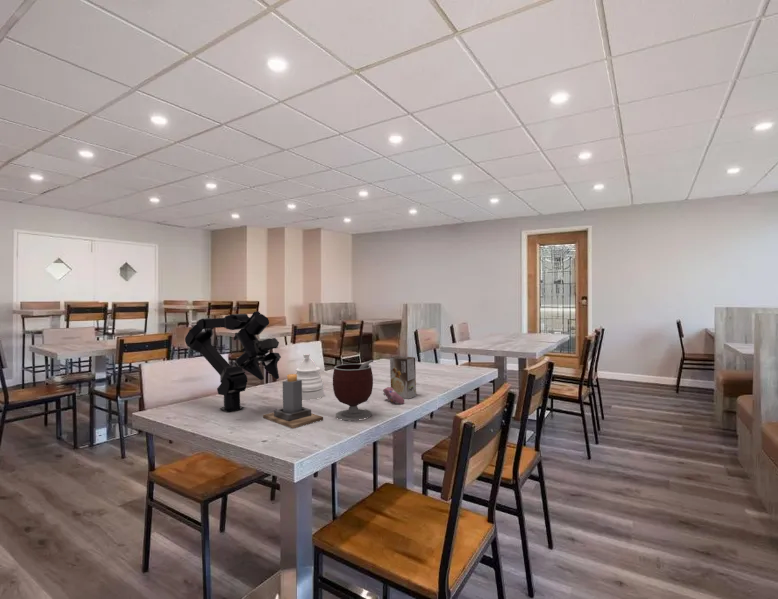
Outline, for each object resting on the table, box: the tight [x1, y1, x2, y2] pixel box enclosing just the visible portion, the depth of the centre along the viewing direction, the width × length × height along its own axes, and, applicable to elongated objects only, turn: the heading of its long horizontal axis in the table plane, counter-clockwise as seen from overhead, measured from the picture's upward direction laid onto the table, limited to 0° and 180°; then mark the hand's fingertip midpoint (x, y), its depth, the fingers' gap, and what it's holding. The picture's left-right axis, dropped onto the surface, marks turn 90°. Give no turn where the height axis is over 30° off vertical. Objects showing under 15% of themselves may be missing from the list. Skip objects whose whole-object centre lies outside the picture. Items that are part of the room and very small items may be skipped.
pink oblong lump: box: [382, 386, 405, 405], centre depth 159 cm, size 10×5×7 cm, turn 22°
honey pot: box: [295, 353, 325, 401], centre depth 170 cm, size 13×13×18 cm
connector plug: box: [282, 373, 303, 414], centre depth 139 cm, size 4×4×14 cm
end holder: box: [262, 406, 324, 429], centre depth 139 cm, size 18×12×3 cm, turn 47°
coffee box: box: [389, 355, 417, 400], centre depth 168 cm, size 9×6×16 cm
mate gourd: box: [332, 359, 374, 421], centre depth 141 cm, size 16×14×20 cm
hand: (270, 379), depth 142 cm, fingers open, 9 cm apart
